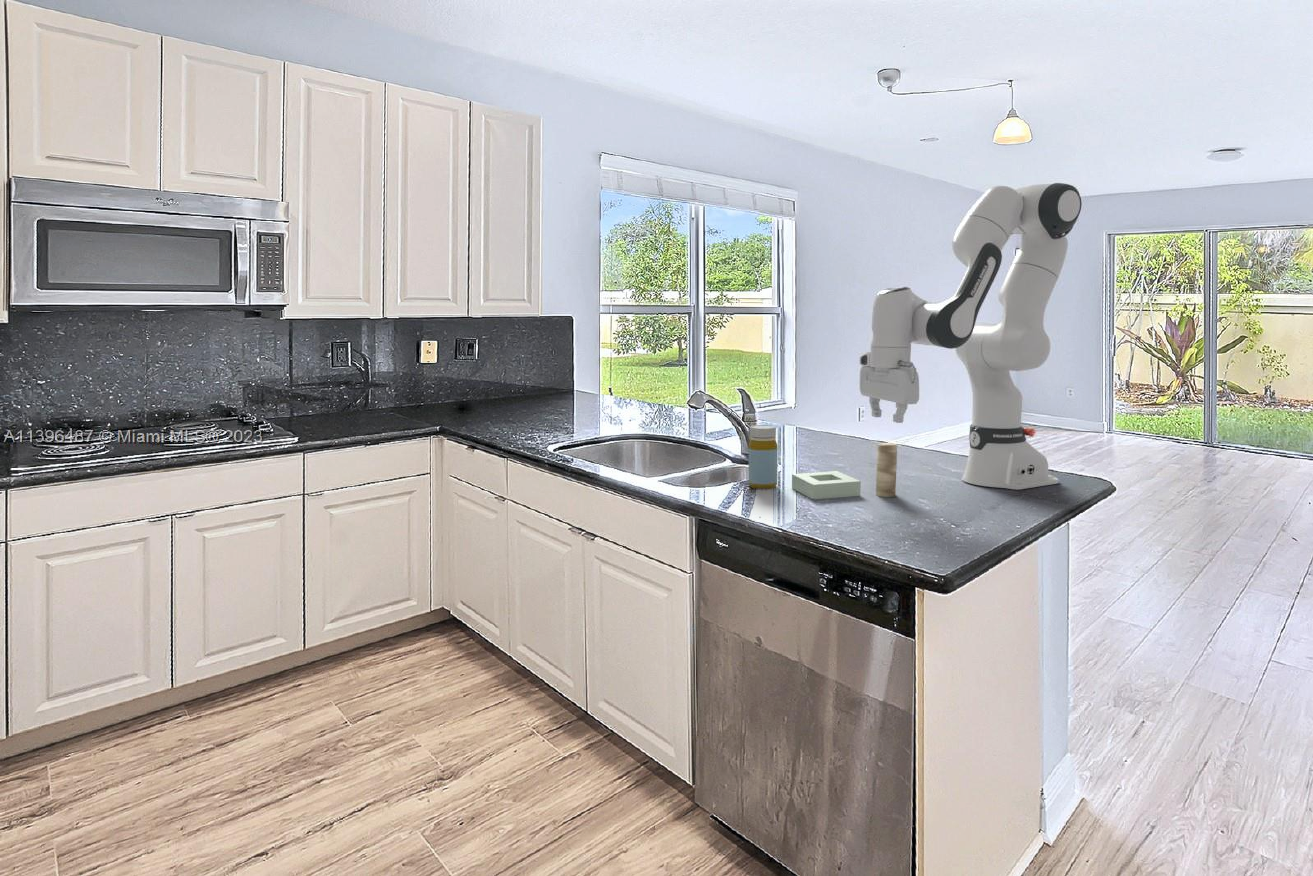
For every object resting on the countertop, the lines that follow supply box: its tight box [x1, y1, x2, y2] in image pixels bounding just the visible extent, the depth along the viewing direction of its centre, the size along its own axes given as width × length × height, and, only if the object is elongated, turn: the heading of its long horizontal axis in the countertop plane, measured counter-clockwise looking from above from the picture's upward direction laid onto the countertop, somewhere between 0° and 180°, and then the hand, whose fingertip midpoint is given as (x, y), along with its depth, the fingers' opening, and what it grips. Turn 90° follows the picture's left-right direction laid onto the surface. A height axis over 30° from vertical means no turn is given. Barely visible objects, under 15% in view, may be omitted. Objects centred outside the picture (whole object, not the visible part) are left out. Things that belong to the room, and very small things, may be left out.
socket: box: [791, 470, 862, 500], centre depth 186 cm, size 12×12×4 cm
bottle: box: [748, 424, 779, 490], centre depth 192 cm, size 7×7×15 cm
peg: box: [875, 442, 898, 498], centre depth 182 cm, size 4×4×12 cm
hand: (886, 419), depth 180 cm, fingers open, 8 cm apart
